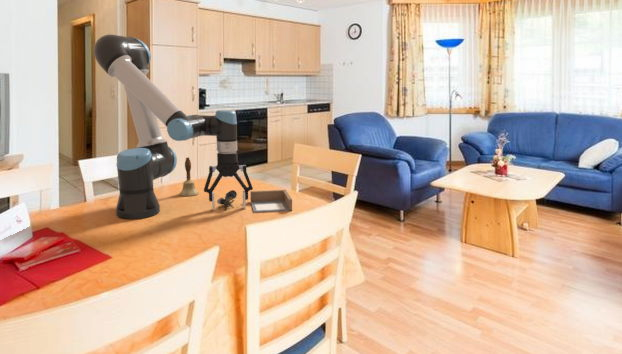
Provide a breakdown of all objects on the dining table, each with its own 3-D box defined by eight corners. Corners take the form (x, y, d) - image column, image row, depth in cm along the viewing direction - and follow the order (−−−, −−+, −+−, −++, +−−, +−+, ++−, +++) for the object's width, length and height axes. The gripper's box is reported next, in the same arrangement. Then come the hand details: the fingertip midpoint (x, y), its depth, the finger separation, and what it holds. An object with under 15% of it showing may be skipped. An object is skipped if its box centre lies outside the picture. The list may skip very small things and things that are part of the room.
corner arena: (254, 212, 163) (253, 201, 162) (250, 201, 177) (250, 191, 176) (292, 210, 166) (292, 199, 165) (285, 200, 180) (285, 189, 179)
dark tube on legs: (240, 207, 165) (241, 197, 173) (229, 193, 162) (230, 183, 171) (223, 217, 166) (225, 206, 174) (212, 204, 163) (214, 193, 172)
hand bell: (178, 192, 190) (176, 156, 187) (197, 190, 194) (195, 155, 190) (181, 197, 183) (178, 160, 180) (200, 195, 186) (199, 158, 183)
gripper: (194, 154, 156) (197, 213, 161) (259, 152, 161) (260, 209, 166) (195, 151, 163) (198, 207, 168) (257, 149, 168) (258, 204, 173)
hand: (229, 208), depth 167 cm, fingers open, 11 cm apart
